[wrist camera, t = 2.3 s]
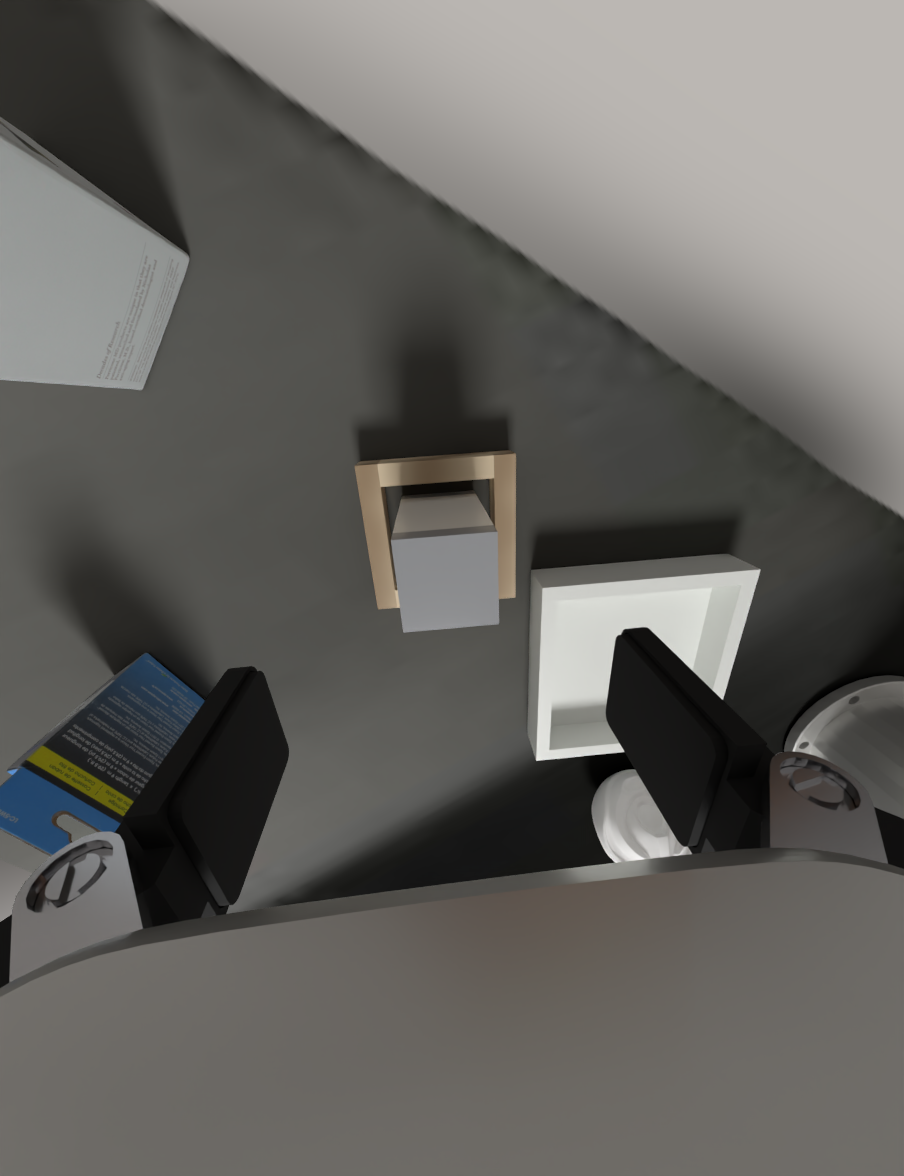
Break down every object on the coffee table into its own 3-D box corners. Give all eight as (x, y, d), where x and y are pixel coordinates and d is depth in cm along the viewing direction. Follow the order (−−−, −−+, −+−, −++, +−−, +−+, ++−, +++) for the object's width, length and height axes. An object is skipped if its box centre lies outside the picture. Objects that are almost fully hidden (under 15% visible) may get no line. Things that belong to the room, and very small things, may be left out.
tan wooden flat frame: (508, 450, 24) (515, 453, 22) (509, 585, 28) (515, 597, 26) (360, 461, 23) (354, 465, 22) (381, 595, 27) (378, 609, 25)
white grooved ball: (666, 746, 35) (725, 830, 28) (658, 802, 39) (710, 890, 32) (578, 759, 35) (616, 846, 28) (578, 814, 39) (612, 905, 32)
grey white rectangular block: (473, 490, 25) (497, 531, 17) (476, 557, 27) (499, 624, 18) (401, 495, 25) (390, 540, 16) (409, 562, 26) (403, 632, 18)
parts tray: (727, 553, 28) (760, 569, 25) (687, 716, 34) (710, 743, 31) (530, 569, 27) (542, 588, 24) (527, 731, 34) (536, 760, 31)
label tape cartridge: (110, 675, 29) (-90, 847, 17) (148, 649, 28) (-36, 811, 17) (205, 747, 32) (88, 929, 21) (241, 725, 31) (139, 902, 20)
